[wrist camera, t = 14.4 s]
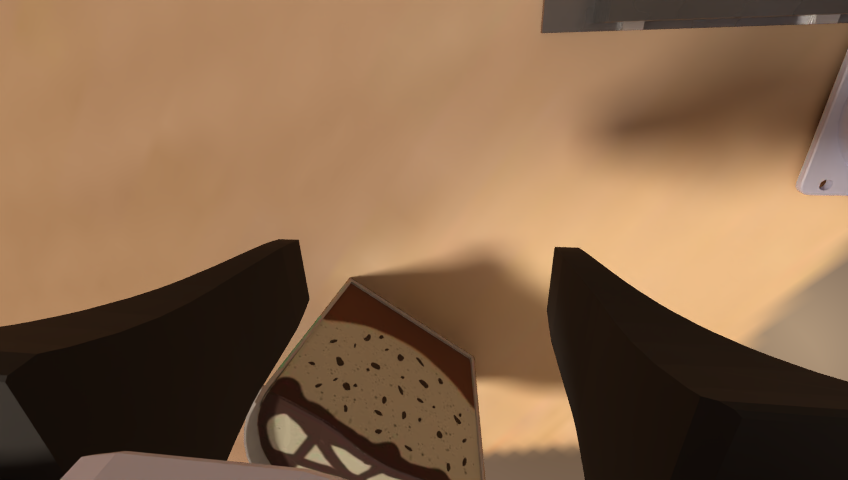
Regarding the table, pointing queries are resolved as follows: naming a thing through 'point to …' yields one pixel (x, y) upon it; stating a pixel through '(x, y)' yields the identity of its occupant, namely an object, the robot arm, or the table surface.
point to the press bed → (685, 14)
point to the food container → (370, 399)
